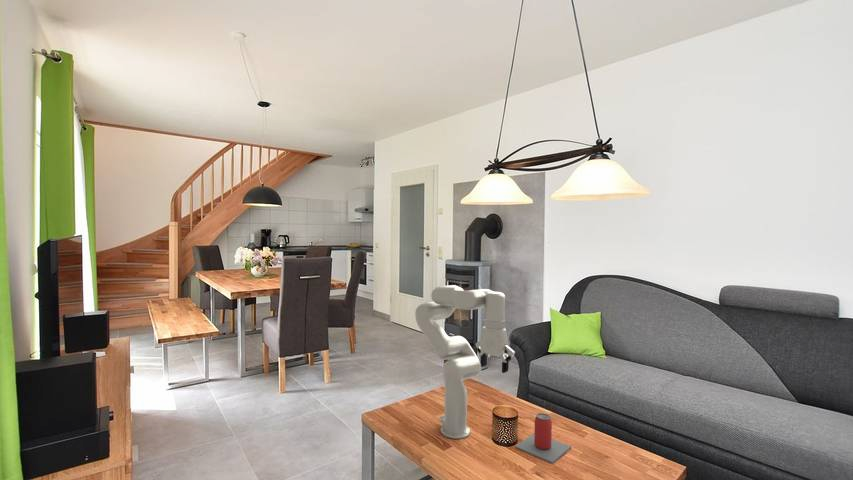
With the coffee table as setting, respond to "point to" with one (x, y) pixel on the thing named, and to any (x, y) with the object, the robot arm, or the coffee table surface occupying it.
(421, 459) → the coffee table surface
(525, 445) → the slate mat
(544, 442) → the beer can
